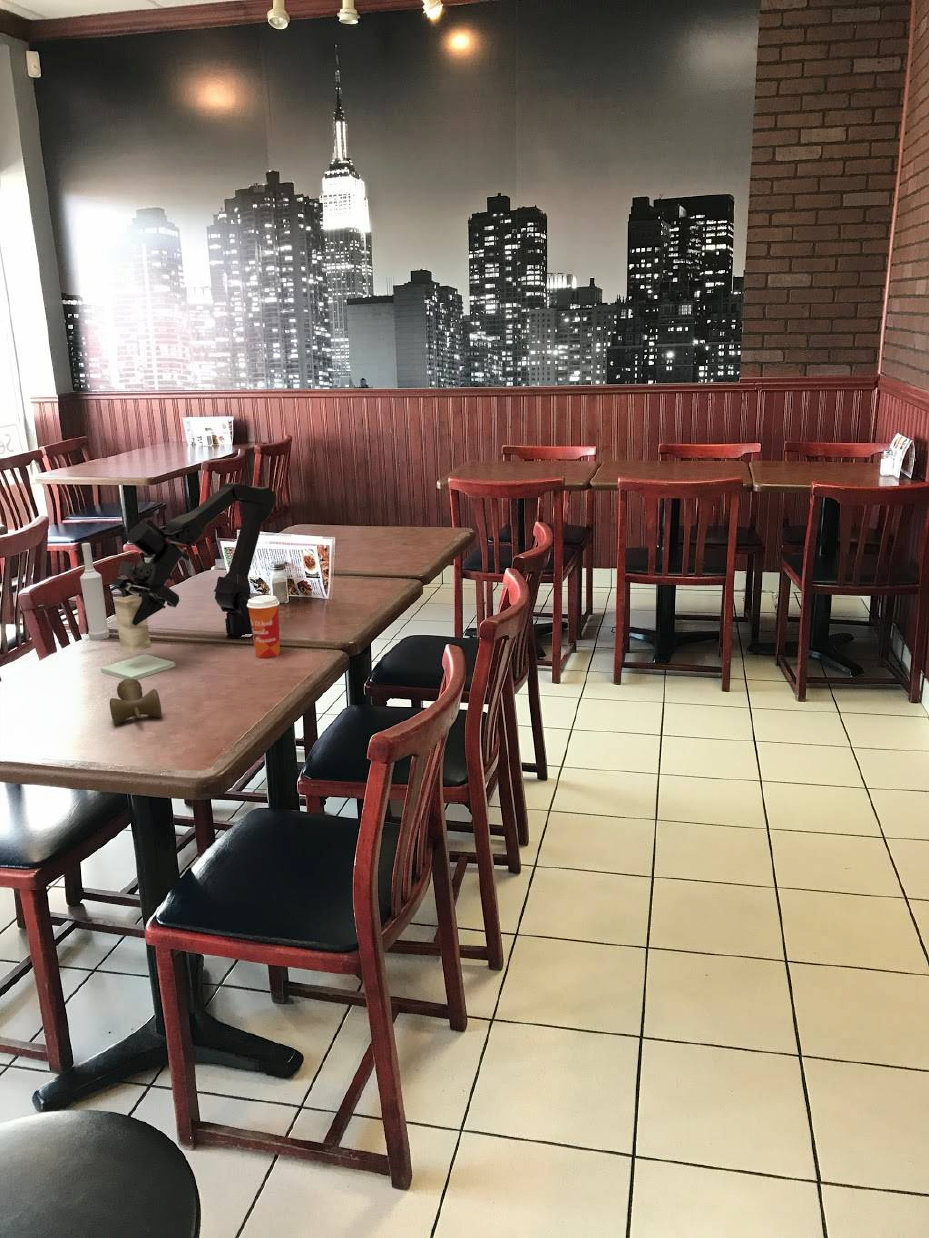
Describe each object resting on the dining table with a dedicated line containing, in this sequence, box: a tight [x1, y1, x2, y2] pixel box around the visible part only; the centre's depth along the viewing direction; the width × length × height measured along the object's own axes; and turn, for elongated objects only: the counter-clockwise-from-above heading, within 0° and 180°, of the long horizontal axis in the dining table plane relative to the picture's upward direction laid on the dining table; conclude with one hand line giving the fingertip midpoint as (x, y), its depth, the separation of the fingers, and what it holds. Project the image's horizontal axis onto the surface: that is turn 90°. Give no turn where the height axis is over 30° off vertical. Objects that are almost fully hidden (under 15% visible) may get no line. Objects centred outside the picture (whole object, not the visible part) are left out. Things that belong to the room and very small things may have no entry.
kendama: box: [109, 679, 162, 726], centre depth 206 cm, size 6×10×20 cm
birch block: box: [113, 595, 152, 654], centre depth 231 cm, size 5×5×12 cm
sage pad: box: [100, 653, 176, 681], centre depth 234 cm, size 12×12×1 cm
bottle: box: [79, 542, 110, 641], centre depth 258 cm, size 5×5×25 cm
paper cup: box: [247, 594, 281, 659], centre depth 240 cm, size 8×8×14 cm
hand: (127, 622), depth 230 cm, fingers closed on birch block, 5 cm apart
